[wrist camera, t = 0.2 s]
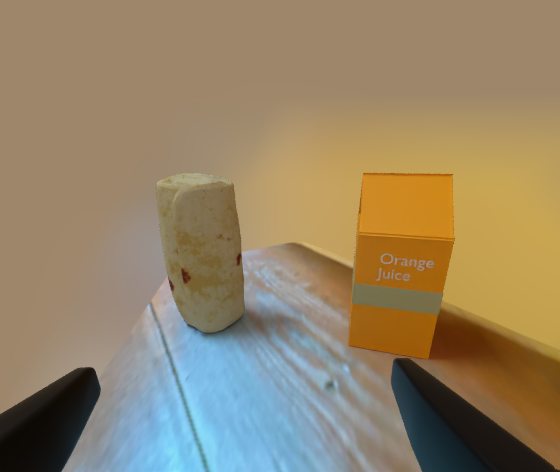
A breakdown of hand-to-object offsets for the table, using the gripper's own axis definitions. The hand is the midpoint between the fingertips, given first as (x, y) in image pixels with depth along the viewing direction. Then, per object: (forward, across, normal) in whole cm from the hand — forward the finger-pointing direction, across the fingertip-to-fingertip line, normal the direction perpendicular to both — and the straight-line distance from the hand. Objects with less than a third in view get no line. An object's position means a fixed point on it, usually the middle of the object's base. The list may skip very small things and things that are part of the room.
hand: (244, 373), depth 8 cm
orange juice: (+22, -14, +16) cm, 31 cm away
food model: (+25, +9, +16) cm, 31 cm away
